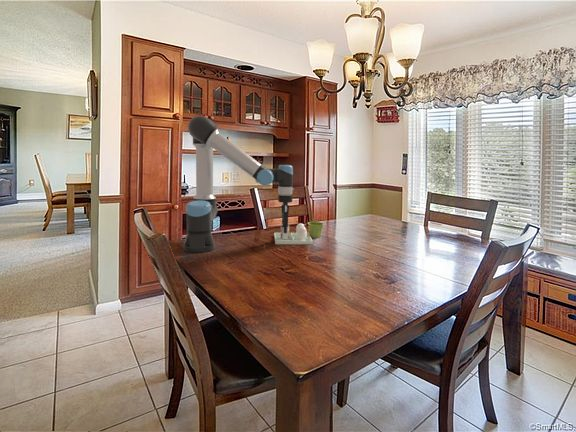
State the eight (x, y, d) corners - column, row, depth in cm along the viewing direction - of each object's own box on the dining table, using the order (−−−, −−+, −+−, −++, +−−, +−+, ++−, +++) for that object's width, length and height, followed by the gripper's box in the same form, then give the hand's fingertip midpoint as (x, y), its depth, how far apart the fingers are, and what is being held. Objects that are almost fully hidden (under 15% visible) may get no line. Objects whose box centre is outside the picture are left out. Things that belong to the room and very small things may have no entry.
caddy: (275, 245, 180) (275, 240, 180) (274, 236, 200) (274, 232, 199) (312, 245, 182) (312, 240, 181) (307, 237, 201) (308, 232, 201)
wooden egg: (280, 239, 183) (280, 223, 182) (280, 237, 187) (280, 222, 186) (289, 239, 183) (289, 223, 182) (288, 237, 188) (289, 222, 186)
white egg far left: (296, 238, 193) (297, 224, 192) (295, 236, 198) (296, 222, 197) (304, 238, 194) (305, 224, 192) (303, 236, 198) (304, 222, 197)
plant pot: (323, 236, 204) (324, 222, 202) (323, 240, 195) (324, 225, 193) (307, 235, 205) (308, 221, 203) (306, 239, 196) (307, 224, 194)
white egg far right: (298, 242, 184) (298, 227, 183) (297, 240, 189) (297, 226, 187) (306, 242, 184) (307, 227, 183) (305, 240, 189) (306, 226, 187)
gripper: (293, 196, 173) (293, 241, 177) (291, 192, 190) (290, 234, 194) (279, 196, 172) (278, 241, 176) (277, 192, 190) (277, 234, 194)
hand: (284, 237), depth 185 cm, fingers closed on wooden egg, 4 cm apart
